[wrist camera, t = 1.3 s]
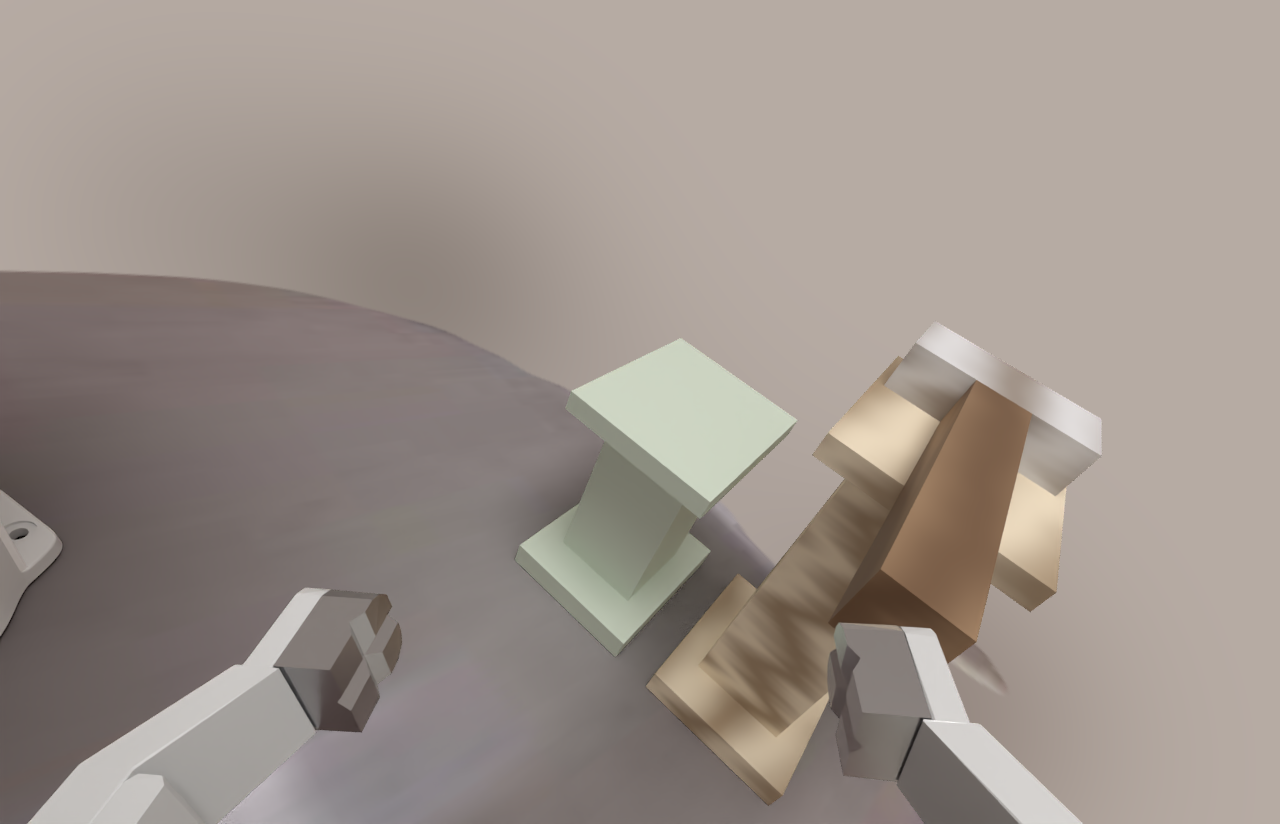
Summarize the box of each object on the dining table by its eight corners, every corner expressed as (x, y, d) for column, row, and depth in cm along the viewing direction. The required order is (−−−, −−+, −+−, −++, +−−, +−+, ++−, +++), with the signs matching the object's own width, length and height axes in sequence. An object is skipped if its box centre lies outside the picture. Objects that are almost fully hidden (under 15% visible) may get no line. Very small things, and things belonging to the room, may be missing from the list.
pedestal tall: (645, 686, 43) (828, 432, 28) (728, 586, 53) (898, 356, 37) (768, 805, 40) (1056, 592, 24) (833, 675, 49) (1068, 462, 34)
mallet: (740, 551, 20) (780, 493, 18) (905, 360, 37) (935, 321, 35) (1020, 780, 17) (1103, 737, 15) (1060, 457, 34) (1101, 419, 32)
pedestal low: (514, 560, 47) (571, 390, 37) (613, 488, 57) (681, 338, 46) (615, 657, 44) (710, 502, 33) (702, 564, 54) (797, 420, 43)
